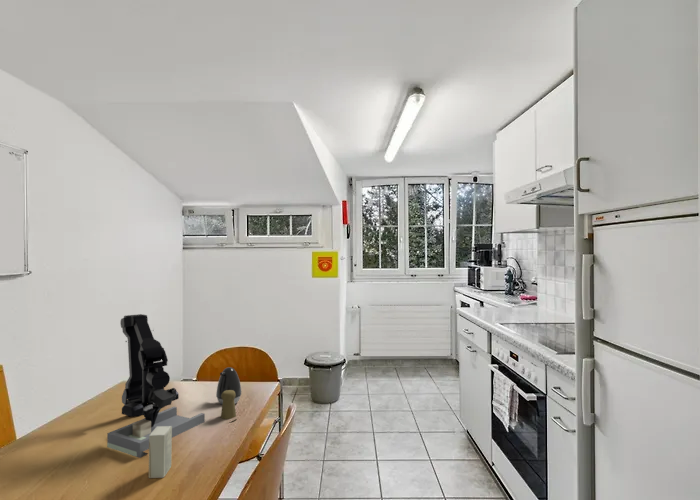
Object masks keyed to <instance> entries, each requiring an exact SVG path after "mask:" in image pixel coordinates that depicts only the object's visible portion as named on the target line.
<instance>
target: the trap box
mask: <svg viewBox="0 0 700 500" xmlns="http://www.w3.org/2000/svg"><path fill="white" fill-rule="evenodd" d="M177 412H178V411H177V406H172V407H170V408H167V409H165V410H162V411H159V413H158V415H157V418H156V421H155V424H154V426H153V427H151V433H152V431H153V430H154V429H155V428H156V427H157V426H172V438H174V437H177V436H178V435H181V434H183V433H185V432H187V431H189V430H191V429H193V428H195V427H198V426H200V425H201V424H203V423H205V421H206V420H205V418H206V417H205V415H206V414H205V413H204V412H203V413H202V412H200V413H198V414H196V415H195V416H194V415H193V416H192V417H186V416H183V415H178V413H177ZM143 419H145V417H144V418H143ZM140 420H141V419H139V420H137V421H134V422H132V423H129V424H127V425H125V426H122V427H119V428H117V429H115V430H112V431H109V432H107V437H106V438H107V440H106V442H107V448H109V449H112V450H115V451H118V452H121V453H123V454H127V455H129V456H134V457H136V458H138V459H141V458H143V457H145V456H147V455H149V452H148V453H147V452H145V451H147V450H148V451H149V435H150V434H151V433H150V434H147V435H145V436H143V437H141V438H140V437H137V436H133V423H135V422H138V421H140ZM145 420H146V419H145Z"/></svg>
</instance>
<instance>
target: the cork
mask: <svg viewBox="0 0 700 500" xmlns="http://www.w3.org/2000/svg"><path fill="white" fill-rule="evenodd" d="M235 396H236V394H235V391H233V390H226V391H224V392H223V393H222V395H221V398H222V400H223V404H221V411H220V412H221V413H220V418H221V419H223V420H231V419H233V418H235V419H233V420H231V421H230V422H228V424H231V423H234V422H236V421H237V418H236V417H237V412H236V404H235V403H234V399H235Z"/></svg>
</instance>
